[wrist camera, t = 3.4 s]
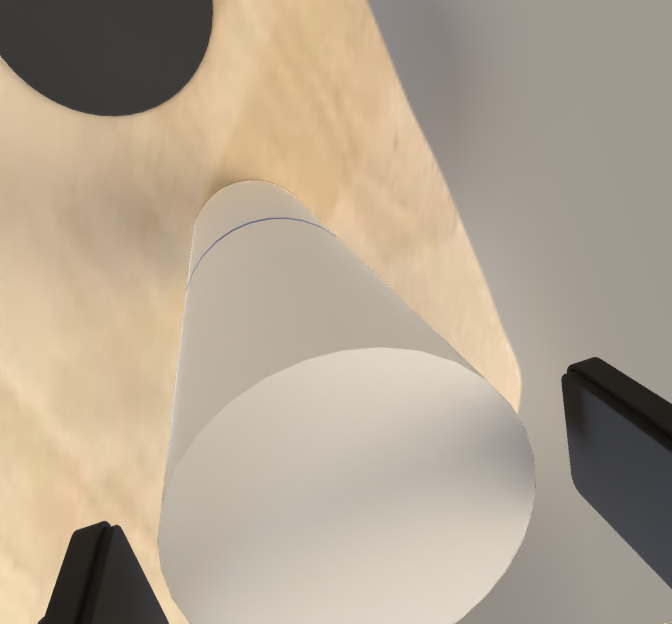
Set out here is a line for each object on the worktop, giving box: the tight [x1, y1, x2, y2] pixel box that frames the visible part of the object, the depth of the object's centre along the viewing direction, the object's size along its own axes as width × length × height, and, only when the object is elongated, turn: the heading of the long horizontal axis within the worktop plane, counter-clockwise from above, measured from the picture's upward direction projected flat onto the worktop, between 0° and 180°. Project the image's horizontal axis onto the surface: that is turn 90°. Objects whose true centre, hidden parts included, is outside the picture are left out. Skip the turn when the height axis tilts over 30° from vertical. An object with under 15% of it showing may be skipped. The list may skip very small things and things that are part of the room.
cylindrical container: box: [157, 180, 536, 624], centre depth 22 cm, size 7×7×25 cm
